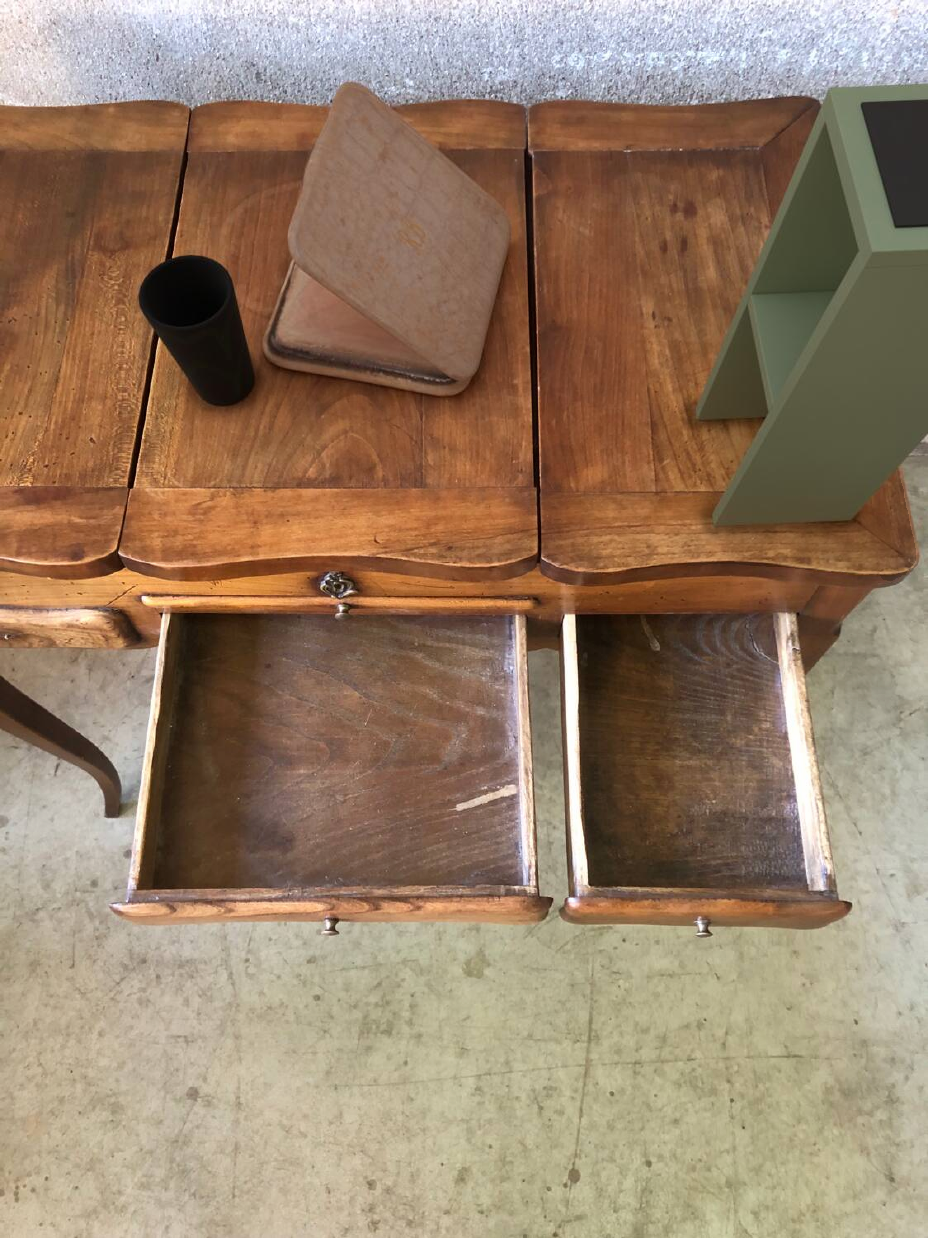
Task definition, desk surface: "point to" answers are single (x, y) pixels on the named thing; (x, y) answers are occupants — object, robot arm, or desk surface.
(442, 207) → the case
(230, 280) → the cup
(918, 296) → the shelf
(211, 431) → the desk surface
